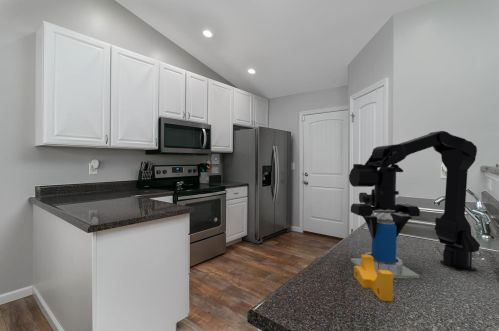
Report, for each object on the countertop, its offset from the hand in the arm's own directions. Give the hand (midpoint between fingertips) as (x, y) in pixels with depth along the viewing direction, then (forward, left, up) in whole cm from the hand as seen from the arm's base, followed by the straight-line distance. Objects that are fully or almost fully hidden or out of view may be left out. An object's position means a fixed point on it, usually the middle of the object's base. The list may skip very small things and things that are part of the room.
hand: (383, 237), depth 73 cm
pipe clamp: (+10, +11, -10) cm, 18 cm away
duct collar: (0, 0, -10) cm, 10 cm away
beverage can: (0, 0, -7) cm, 7 cm away
